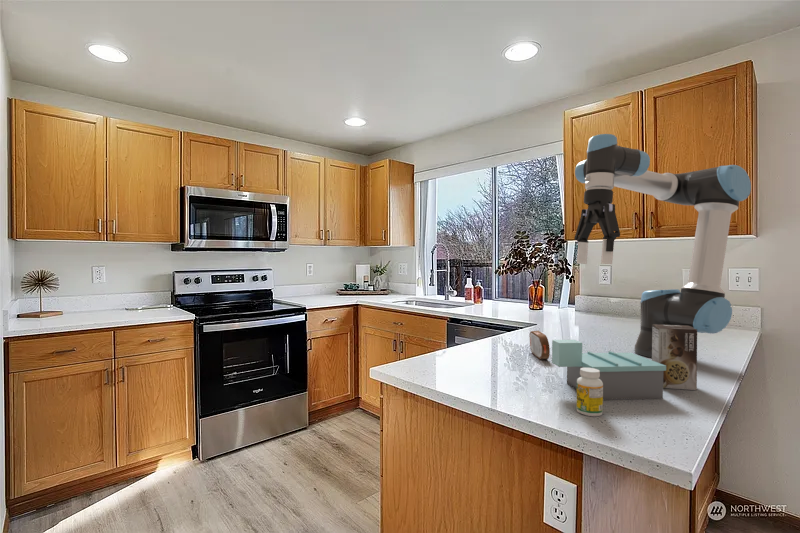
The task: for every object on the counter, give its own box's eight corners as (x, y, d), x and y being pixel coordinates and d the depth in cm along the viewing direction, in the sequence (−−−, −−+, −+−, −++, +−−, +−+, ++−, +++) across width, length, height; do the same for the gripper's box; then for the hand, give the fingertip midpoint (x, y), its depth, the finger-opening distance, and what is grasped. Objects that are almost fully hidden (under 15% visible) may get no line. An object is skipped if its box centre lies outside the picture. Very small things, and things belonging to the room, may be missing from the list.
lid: (630, 356, 117) (631, 335, 116) (666, 370, 103) (666, 346, 103) (543, 358, 115) (544, 336, 114) (568, 372, 101) (568, 347, 101)
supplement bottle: (607, 417, 91) (607, 373, 91) (582, 417, 91) (583, 373, 91) (595, 408, 97) (596, 366, 96) (572, 407, 97) (573, 366, 96)
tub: (629, 382, 116) (630, 357, 116) (662, 398, 103) (663, 370, 103) (566, 383, 115) (567, 358, 115) (592, 400, 102) (593, 371, 102)
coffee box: (687, 383, 116) (689, 325, 115) (697, 391, 109) (698, 329, 109) (650, 380, 118) (651, 323, 118) (657, 387, 112) (659, 327, 111)
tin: (550, 362, 138) (550, 336, 138) (540, 362, 138) (541, 336, 138) (536, 351, 153) (536, 328, 153) (527, 351, 153) (528, 328, 153)
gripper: (566, 195, 133) (561, 262, 133) (610, 180, 108) (604, 263, 109) (588, 197, 134) (584, 264, 134) (638, 183, 109) (632, 265, 109)
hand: (593, 263), depth 121 cm, fingers open, 13 cm apart
